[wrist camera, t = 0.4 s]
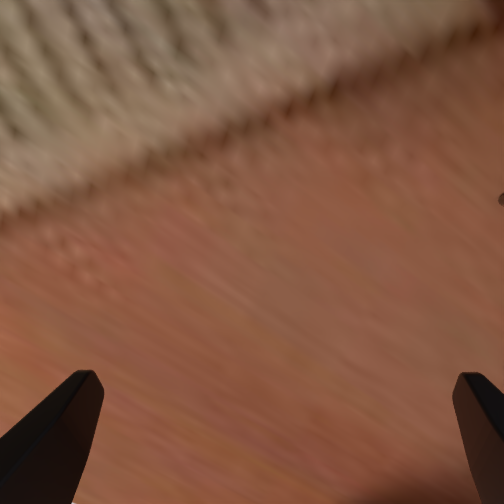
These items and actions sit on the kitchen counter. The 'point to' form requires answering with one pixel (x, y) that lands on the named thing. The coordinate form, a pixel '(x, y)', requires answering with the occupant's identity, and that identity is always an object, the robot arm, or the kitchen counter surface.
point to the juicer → (501, 200)
